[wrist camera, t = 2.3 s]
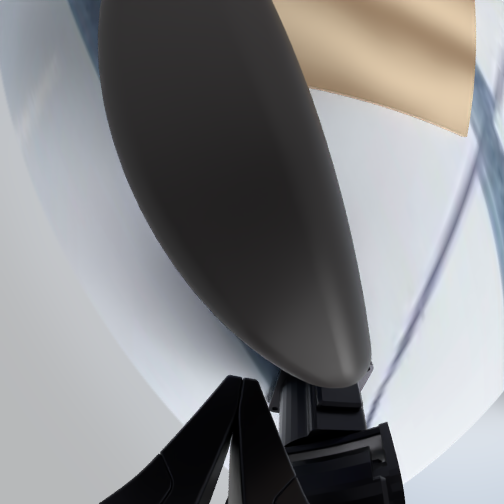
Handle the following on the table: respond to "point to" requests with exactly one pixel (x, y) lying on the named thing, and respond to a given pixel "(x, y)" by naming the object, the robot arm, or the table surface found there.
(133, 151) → the leaning round-cornered charcoal block
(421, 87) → the wooden board
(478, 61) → the table surface
